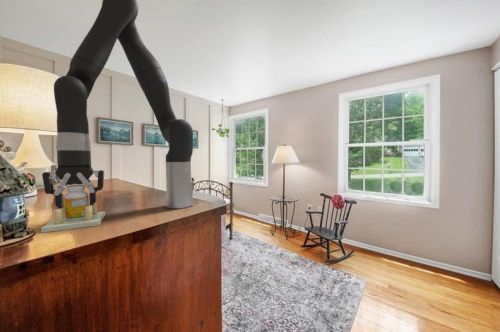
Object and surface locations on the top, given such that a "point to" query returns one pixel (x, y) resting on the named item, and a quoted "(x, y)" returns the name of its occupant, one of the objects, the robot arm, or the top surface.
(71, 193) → the supplement bottle
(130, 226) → the top surface
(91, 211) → the standoff chassis
